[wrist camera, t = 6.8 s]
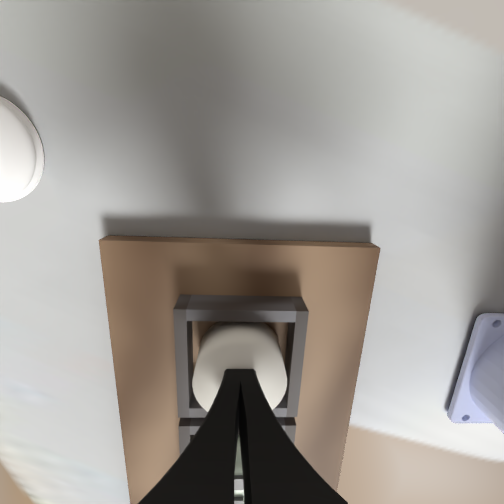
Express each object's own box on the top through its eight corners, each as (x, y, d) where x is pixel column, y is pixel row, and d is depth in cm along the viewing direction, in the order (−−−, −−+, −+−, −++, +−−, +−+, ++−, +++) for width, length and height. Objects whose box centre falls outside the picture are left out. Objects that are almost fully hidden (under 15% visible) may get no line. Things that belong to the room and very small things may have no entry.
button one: (282, 316, 15) (291, 346, 12) (277, 385, 16) (284, 424, 14) (198, 315, 15) (190, 345, 12) (199, 384, 16) (192, 425, 13)
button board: (371, 243, 15) (397, 257, 13) (319, 552, 23) (328, 599, 20) (107, 235, 15) (80, 249, 12) (143, 558, 22) (131, 608, 20)
